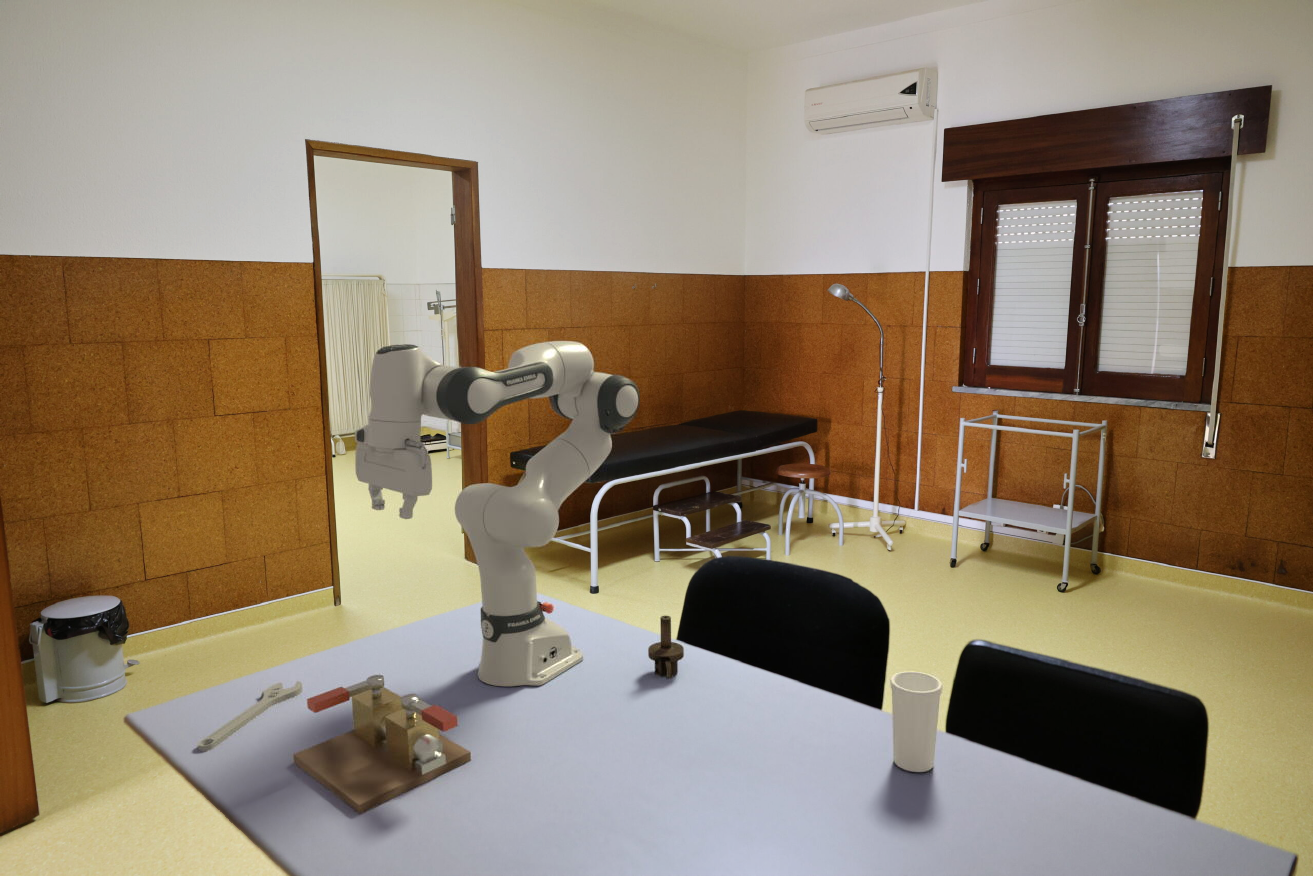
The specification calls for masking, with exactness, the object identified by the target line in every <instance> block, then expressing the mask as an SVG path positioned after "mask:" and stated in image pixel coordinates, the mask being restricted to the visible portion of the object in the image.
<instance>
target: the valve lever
mask: <svg viewBox="0 0 1313 876" xmlns="http://www.w3.org/2000/svg"><path fill="white" fill-rule="evenodd" d="M384 686H385V676H384V675H382V674H374V675H370V676H368V677H367V678H366V680H363V681H360V682H358V683H354V684H353V685H350V686H347V687H343V686H339V687H336V688H333V689H331V690H328V691H326V692H323V693H320V694H317V695H315V696H312V697H309V698H307V699H306V706H307V709H308V710H309V711H311V712H313V713H314V714H316V713H320V712H322V711H324V710H325V711H326V710H327V709H330V708H333V707H335V706H338V705H341V704H344V703H346V702H349V701H350V700H351V699H350V698H352V696H354V695H357V694H360V693H362V692H365V691H368V690H370V689H371V690H375V689H380V688H382V687H384Z"/></svg>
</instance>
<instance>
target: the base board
mask: <svg viewBox="0 0 1313 876" xmlns="http://www.w3.org/2000/svg"><path fill="white" fill-rule="evenodd" d="M439 740H440V741H441V742H442V744H443V750H442V753H443V754H444V755H445V758H446V764H444V765H442V766H440V767H438V768H436V769H434V770H431V771H429V772H427V773H425V774H423V775H422V774H420V773H419V772H417V771H416V770H415V769H413V770H411V771H410V770H408V769H407V768H405V767H404V766H402V765H401V764H399V763H398V762H396V761H395V760H393V759H392V758H390V757H389V756H388V755H387V751H385V750H384V749H383V744H382V745H380V746H378V747H374V746H372V745H371V744H369V743H368V742H366V741H365V740H363V739H362V738H360V737H358V736H357V735H355V733H354V729H352V730H349V731H348V732H344V733H342V734H340V735H337V736H335V737H332V738H330V739H328V740H324V741H322V742H320V743H318V744H315V745H313V746H311V747H308V748H306V749H303V750H301V751H299V752H295V753H293V754H292V755H293V756H292V757H293V763H294V764H295V765H297V766H298V767H299V768H301V770H303V771H304V772H306V773H307V774H308V775H309V776H310V777H312V779H315V780H316V781H317V782H319V783H320V784H321V785H322V786H324V787H325V788H326V789H327V790H329V791H330V792H331V793H333V795H335V796H336V797H337V798H339V799H340V800H341V801H343V802H344V803H345V804H346V805H348V807H351V808H352V809H353V810H354V811H355V812H356V813H357V814H363V813H366V812H367V811H369V810H371V809H373V808H376V807H378V806H379V805H382V804H385V802H388V801H390V800H391V799H394V798H395V797H399V796H400V795H402V794H405V793H406V792H408V791H411V790H412V789H414V788H416V787H419V786H421V785H423V784H425V783H426V782H430V781H431V780H433V779H436V778H437V777H439V776H442V775H443V774H445V773H447V772H449V771H451V770H454V769H455V768H457V767H460V766H462V765H465V764H466V763H468V762H470V761H472V758H471V751H470V750H469V749H466V748H464V747H463V746H461V745H459V744H458V743H456V742H454V741H453V740H451V739H449V738H447V737H445V736H444V735H442V734H441V733H439Z"/></svg>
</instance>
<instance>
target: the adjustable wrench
mask: <svg viewBox="0 0 1313 876" xmlns="http://www.w3.org/2000/svg"><path fill="white" fill-rule="evenodd" d="M302 683H303V682H301V681H296V682H295V684H294V686H292V687H288V688H283V686H284V685H283V682H278V683H276V684H272V685H271V686H269V687H267V688H266V689H265V690H262V691H261V693H262V694H260V699H261V700H259V701H258V702H256V703H254V704H253V705H252V706H250V707H249V708H247V709H246V710H245V711H243V712H241V713H240V714H238V715H237V716H235V717H234V718H233V719H231V720H229V721H228V722H226V723H225V724H224V725H222V726H221V727H220V728H218V729H216V730H214V731H213V732H212V733H210V734H209V735H207V736H206V737H204V738H203V739H202V740H200V741H199V742H198V744H197V745H198V751H200V750H201V751H200V752H208V750H209V751H211V750H213V749H215V748H216V747H218V746H219V745H220V744H222V743H223V742H224V741H226V740H227V739H229V738H230V737H231V736H233V735H234V734H235V733H237V732H238V731H240V730H241V729H242V728H244V727H245V726H246V724H247V723H248V722H249V723H250V721H251V720H252V721H253V719H254V718H255V719H256V718H257V717H256V716H258V715H259V716H260V715H262V714H263V713H265V712H266V711H267V710H269V709H270V708H272V707H273V705H274V706H276V705H278V704H280V703H283V702H285V701H288V700H290V698H291V699H293V698H295V696H296V697H298V696H299V695H301V694H302V693H303V684H302ZM300 693H301V694H300ZM297 695H298V696H297ZM287 699H288V700H287ZM282 701H283V702H282ZM277 703H278V704H277ZM275 704H276V705H275ZM271 706H272V707H271ZM269 707H270V708H269ZM268 708H269V709H268ZM265 710H266V711H265ZM264 711H265V712H264ZM261 713H262V714H261ZM259 716H258V717H259ZM255 719H254V720H255ZM252 721H251V722H252ZM249 723H248V724H249ZM248 724H247V725H248ZM244 725H245V726H244ZM243 726H244V727H243ZM241 727H242V728H241ZM240 728H241V729H240ZM239 729H240V730H239ZM237 730H238V731H237ZM236 731H237V732H236ZM233 733H234V734H233ZM232 734H233V735H232ZM229 736H230V737H229ZM228 737H229V738H228ZM221 742H222V743H221ZM214 747H215V748H214Z"/></svg>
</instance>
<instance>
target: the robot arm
mask: <svg viewBox="0 0 1313 876" xmlns="http://www.w3.org/2000/svg"><path fill="white" fill-rule="evenodd" d="M594 362H595V361H594V357H593V355H592V353H591V351H590V350H589V349H588V347H587V346H586V345H585V344H583V343H581V342H578V341H571V340H553V341H552V340H551V341H545V342H538V343H534V344H530V345H527V346H524V347H521V348H519V349H518V350H514V352H513V353H512V355H511V356H510V358H509V362H508V365H507V368H506V369H501V370H497V371H489V370H487V369H484V368H481V367H476V366H463V367H462V366H452V365H443V364H442V363H440V362H438V361H436V360H434V359H433V358H431V357H429V356H428V355H426V354H425V352H423V351H422V350H421V349H420V347H419V345H416V344H404V343H403V344H391V345H387V346H386V345H385V346H382V347H381V348H379V349H378V350H376V352H375V353H374V357H373V360H372V364H371V372H370V380H369V397H370V401H371V409H370V411H369V415H368V424H366V425H365V426H363V427H360V428H359V429H356V430H355V431H354V442H356V443H357V445H356V447H355V459H354V460H355V468H354V469H355V475H356V479H357V481H359V482H360V483H364V484H368V493H369V496H370V498H371V509H373V510H375V511H383V510H385V507H386V506H385V505H386V500H385V499H384V498H383V492H382V490H383V489H385V490H389V491H393V492H396V493H401V494H402V500H403V503H402V507H399V509H398V512H399V513H398V516H399V518H401V519H403V520H410V519H412V518H413V515H414V508H415V506H416V504H417V502H418V498H419V497H424V496H429V495H430V494H431V492H432V489H433V473H432V472H433V471H432V470H433V468H432V459H431V456H430V454H429V452H428V448H426V446H425V443H424V442H422V441H421V433H422V432H421V431H422V429H421V428H422V416H423V415H424V416H425V417H426V416H427V417H430V418H432V417H433V418H437V419H441V420H449V421H454V422H457V423H460V424H465V425H477V424H479V423H481V422H484V421H485V420H486V419H488V418H489V417H490V416H491V415H493V414H494V413H495V412H496V411H498V410H500V408H503V407H505V406H507V405H511V404H513V403H518V402H521V401H524V400H527V399H541V398H542V399H543V398H548V397H549V403H550V406H551V408H552V410H553V411H554V412H555V413H556V415H559V416H560V417H562V418H565V419H568V420H572V421H571V423H570V424H569V426H568V428H567V429H566V430H565V431H564V432H562V433H561V434H560V435H557V437H556V438H554V439H553V440H552V441H550V442H549V443H548V444H547V445H545V447H543V448H542V449H541V450H539V451H538V452H537V453H536V454H534V456H532V457H531V458H530V459H529V460H528V461H527V463H526V464H525V465H526V466H525V474H526V475H525V477H524V478H523V480H522V481H521V482H520V483H519V484H517V485H514V486H505V485H501V484H495V483H491V482H486V483H485V482H484V483H476V484H470V485H468V486H467V487H465V488H463V489H462V490H461V491H460V492H459V494H458V496H457V497H456V501H455V504H454V514H455V518H456V520H457V522H458V523H459V524H460V526H461V527H462V528H463V530H464V531H465V533H466V535H467V537H468V540H469V542H470V545H471V547H472V551H473V554H474V556H475V559H476V563H477V566H478V570H479V571H478V572H479V578H480V590H481V592H480V593H481V604H482V605H481V608H480V630H481V634H482V649H481V656H480V662H479V667H478V671H477V677H478V678H479V680H480V681H481V682H483V683H484V684H485V683H486V684H488V685H492V686H498V687H517V686H542V685H545V684H546V683H548V682H550V681H551V680H552V679H554V678H556V677H557V676H559V675H562V673H564V672H565V671H567V670H568V669H570V668H572V667H574V666H575V665H577V664H578V663H580V662H582V661H583V660H584V655H583V652H581V650H580V649H578V648H576V647H575V646H573V645H572V640H571V637H570V634H569V632H568V631H567V630H566V629H565V628H564V627H562V626H561V625H559V624H557V623H556V622H554V621H552V620H550V619H548V618H547V617H545V615H544V612H545V613H546V614H549V615H550V614H552V613H553V612H554V609H555V607H554V605H553V604H552V603H549V602H543V603H542V602H541V601H539V600H538V594H537V574H536V573H537V572H536V568H535V565H534V563H533V562H532V559H530V557H529V556H528V555H527V553H526V551H525V548H539V547H540V548H541V547H544V546H546V545H547V544H549V543H550V542H551V541H552V540H553V538H554V537H555V535H556V534H557V531H558V528H559V523H560V516H559V515H560V514H559V510H560V507H561V506H562V504H563V502H564V501H566V499H567V498H568V497H569V496H570V495H572V493H574V491H576V490H577V489H578V488H579V487H581V485H582V484H583V483H584V482H586V481H587V480H588V479H589V478H590V477H591V476H592V475H593V474H594V473H595V472H596V471H597V470H598V469H599V468H600V466H601V465H602V464H604V462H605V461H606V459H607V457H608V456H609V455H610V453H611V451H612V448H613V445H612V444H613V441H612V437H611V435H613V434H619V433H620V432H622V431H623V430H624V429H625V426H626V425H628V424H629V423H630V422H631V421H632V419H634V417H635V415H636V414H637V412H638V409H639V406H640V401H641V400H640V399H641V398H640V391H639V387H638V386H637V384H636V383H635V382H634V381H633V380H631V379H630V378H627V377H626V376H624V375H620V374H609V373H605V372H599V371H598V372H597V371H594V368H595V366H594V365H595V363H594Z"/></svg>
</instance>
